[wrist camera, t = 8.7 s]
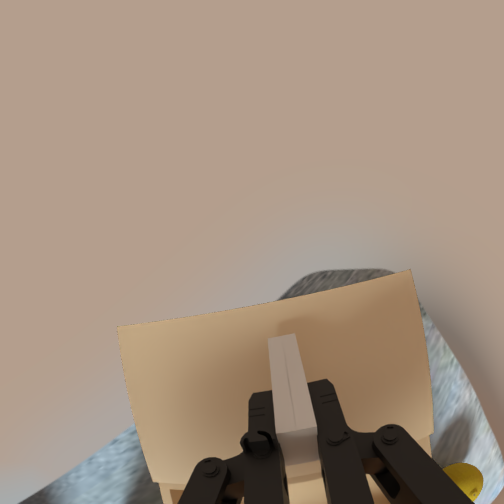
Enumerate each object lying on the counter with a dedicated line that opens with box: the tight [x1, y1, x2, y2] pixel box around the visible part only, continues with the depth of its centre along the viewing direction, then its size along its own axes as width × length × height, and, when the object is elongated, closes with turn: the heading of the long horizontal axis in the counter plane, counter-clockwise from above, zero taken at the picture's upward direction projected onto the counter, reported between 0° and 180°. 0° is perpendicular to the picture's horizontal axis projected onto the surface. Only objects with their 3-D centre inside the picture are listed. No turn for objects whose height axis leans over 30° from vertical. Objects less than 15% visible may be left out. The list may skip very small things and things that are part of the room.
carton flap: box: [117, 270, 434, 484], centre depth 16 cm, size 20×1×12 cm
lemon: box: [442, 463, 483, 501], centre depth 14 cm, size 6×6×8 cm
